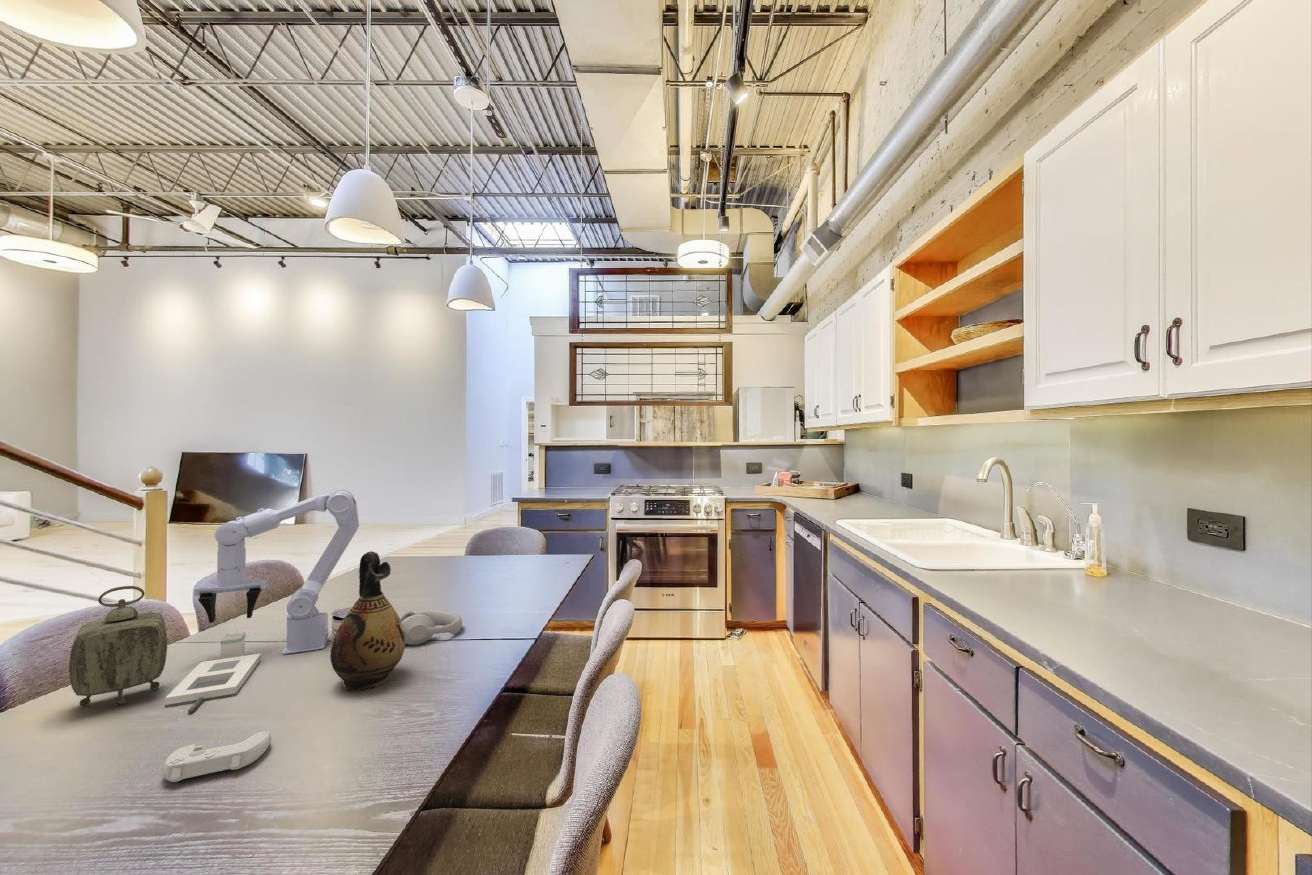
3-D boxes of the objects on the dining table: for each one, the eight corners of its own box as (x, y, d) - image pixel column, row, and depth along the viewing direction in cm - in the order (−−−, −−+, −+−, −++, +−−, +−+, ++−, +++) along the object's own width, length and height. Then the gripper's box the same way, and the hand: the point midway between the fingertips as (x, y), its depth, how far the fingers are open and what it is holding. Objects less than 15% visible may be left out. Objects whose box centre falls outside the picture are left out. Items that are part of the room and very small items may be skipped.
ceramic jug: (415, 680, 121) (416, 553, 121) (342, 704, 109) (343, 564, 110) (389, 659, 132) (389, 544, 133) (320, 679, 121) (321, 553, 121)
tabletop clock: (166, 684, 119) (167, 576, 119) (166, 697, 112) (168, 584, 113) (72, 706, 109) (74, 589, 109) (66, 722, 102) (68, 598, 103)
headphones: (410, 651, 136) (472, 638, 153) (414, 621, 137) (475, 611, 154) (373, 637, 146) (435, 626, 162) (377, 609, 147) (438, 601, 164)
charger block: (245, 654, 136) (245, 632, 136) (240, 660, 132) (240, 637, 132) (225, 657, 134) (226, 634, 134) (220, 663, 130) (220, 639, 130)
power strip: (260, 661, 131) (260, 652, 131) (226, 707, 108) (226, 697, 108) (201, 669, 126) (201, 661, 126) (151, 721, 103) (152, 710, 103)
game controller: (276, 724, 96) (260, 740, 87) (274, 749, 95) (258, 768, 87) (178, 741, 91) (150, 760, 82) (175, 769, 90) (146, 791, 81)
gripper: (269, 561, 140) (268, 610, 140) (201, 567, 133) (200, 619, 133) (263, 566, 134) (262, 618, 133) (191, 573, 127) (190, 627, 127)
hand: (231, 619), depth 133 cm, fingers open, 7 cm apart
